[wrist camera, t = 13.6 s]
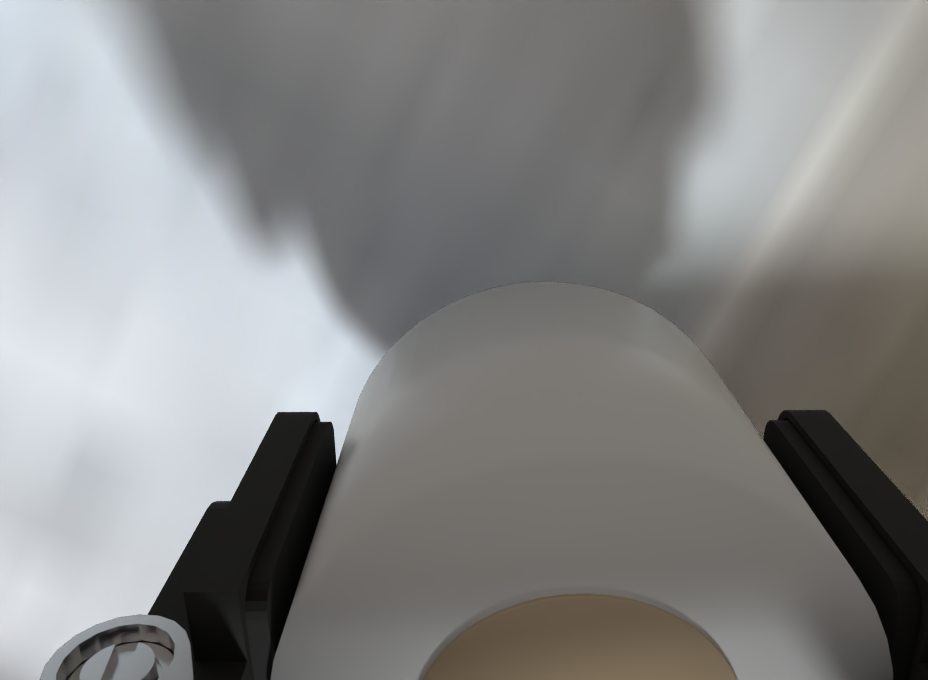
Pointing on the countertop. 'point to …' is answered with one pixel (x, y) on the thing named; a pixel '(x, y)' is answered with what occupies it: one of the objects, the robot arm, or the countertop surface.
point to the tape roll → (567, 515)
